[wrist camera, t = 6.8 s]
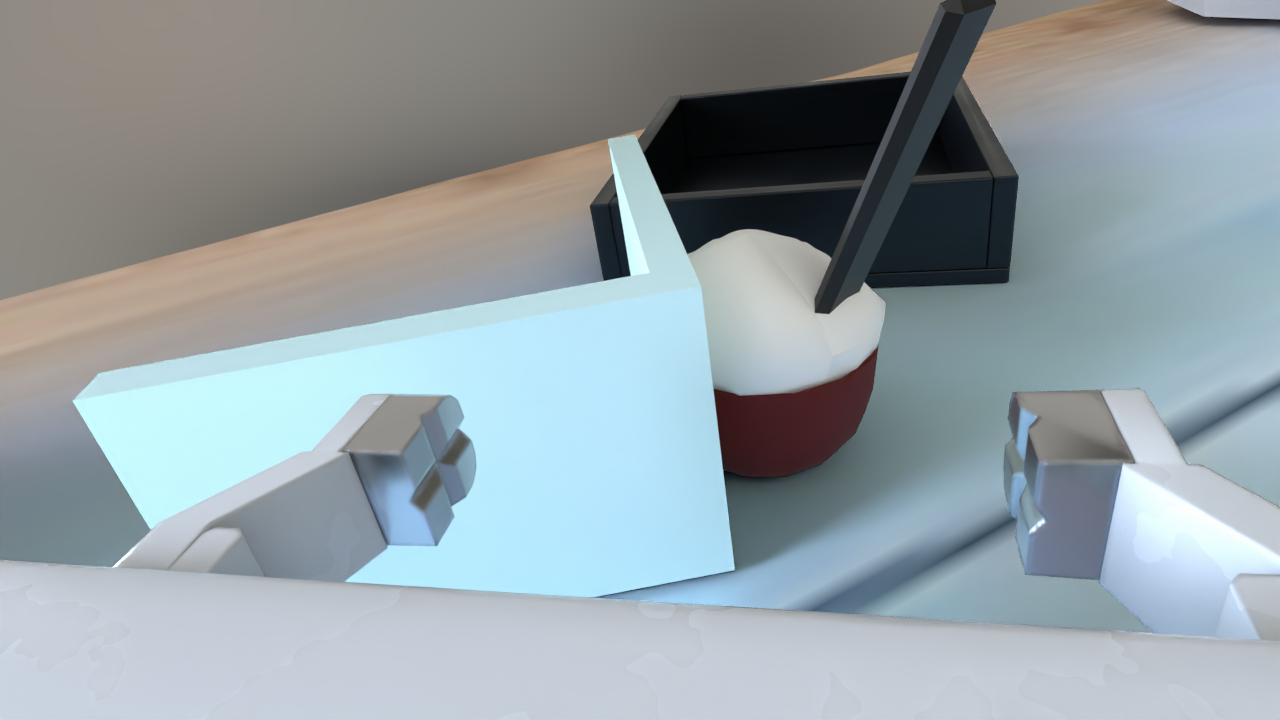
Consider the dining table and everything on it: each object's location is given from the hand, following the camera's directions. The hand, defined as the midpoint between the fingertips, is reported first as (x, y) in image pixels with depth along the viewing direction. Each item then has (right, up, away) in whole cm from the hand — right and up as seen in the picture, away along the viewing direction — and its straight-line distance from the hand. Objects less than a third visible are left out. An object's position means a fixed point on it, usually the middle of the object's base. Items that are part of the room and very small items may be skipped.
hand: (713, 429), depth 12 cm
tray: (+7, +8, +27) cm, 29 cm away
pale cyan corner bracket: (-5, -2, +12) cm, 13 cm away
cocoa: (+3, -2, +11) cm, 12 cm away
